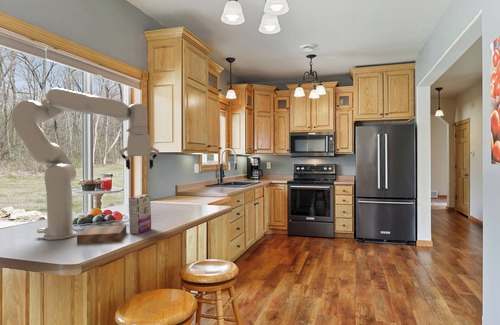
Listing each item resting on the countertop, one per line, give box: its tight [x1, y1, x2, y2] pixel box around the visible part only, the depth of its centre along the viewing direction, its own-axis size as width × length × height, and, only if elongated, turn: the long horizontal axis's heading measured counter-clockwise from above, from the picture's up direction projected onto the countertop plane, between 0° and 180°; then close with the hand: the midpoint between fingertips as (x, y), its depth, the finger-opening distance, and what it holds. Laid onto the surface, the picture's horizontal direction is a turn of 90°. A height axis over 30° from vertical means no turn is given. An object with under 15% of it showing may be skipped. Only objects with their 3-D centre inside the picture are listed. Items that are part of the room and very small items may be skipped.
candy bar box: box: [128, 194, 152, 235], centre depth 152 cm, size 11×5×16 cm, turn 168°
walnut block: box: [76, 224, 127, 245], centre depth 141 cm, size 16×16×4 cm
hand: (139, 168), depth 152 cm, fingers open, 9 cm apart
